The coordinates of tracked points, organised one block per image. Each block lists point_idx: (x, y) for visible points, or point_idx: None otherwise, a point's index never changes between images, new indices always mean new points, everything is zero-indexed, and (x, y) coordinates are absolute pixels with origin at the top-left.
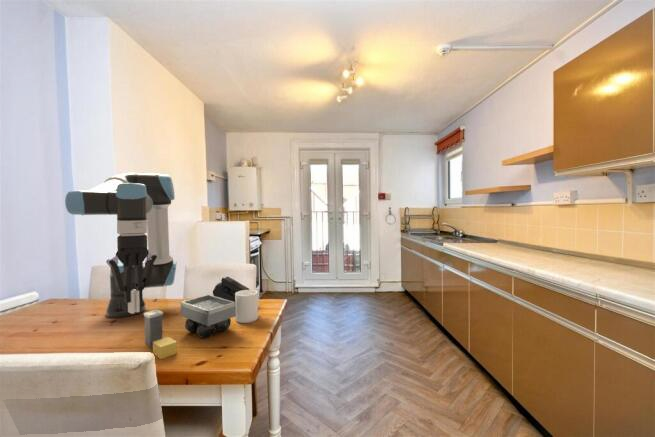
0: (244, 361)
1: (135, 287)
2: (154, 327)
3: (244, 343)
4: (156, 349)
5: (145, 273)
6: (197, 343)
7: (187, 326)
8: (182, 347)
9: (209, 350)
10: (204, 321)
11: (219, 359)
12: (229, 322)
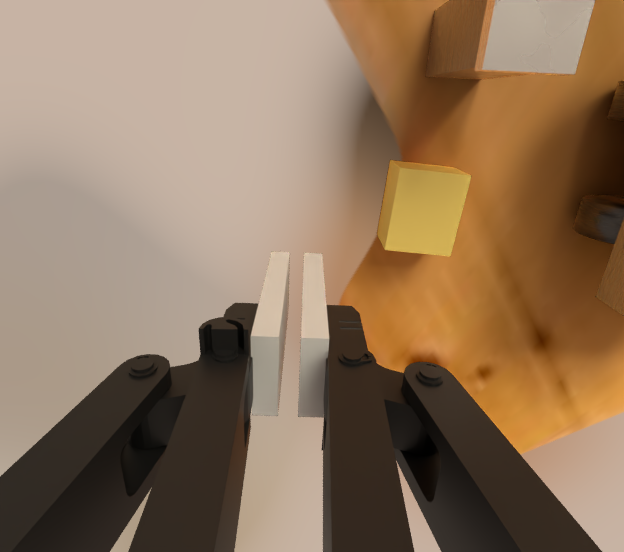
0: None
1: (329, 356)
2: (478, 72)
3: (590, 373)
4: (388, 203)
5: (475, 547)
6: (531, 233)
7: (621, 109)
8: (479, 214)
9: (500, 319)
10: (617, 278)
11: (465, 388)
12: None
